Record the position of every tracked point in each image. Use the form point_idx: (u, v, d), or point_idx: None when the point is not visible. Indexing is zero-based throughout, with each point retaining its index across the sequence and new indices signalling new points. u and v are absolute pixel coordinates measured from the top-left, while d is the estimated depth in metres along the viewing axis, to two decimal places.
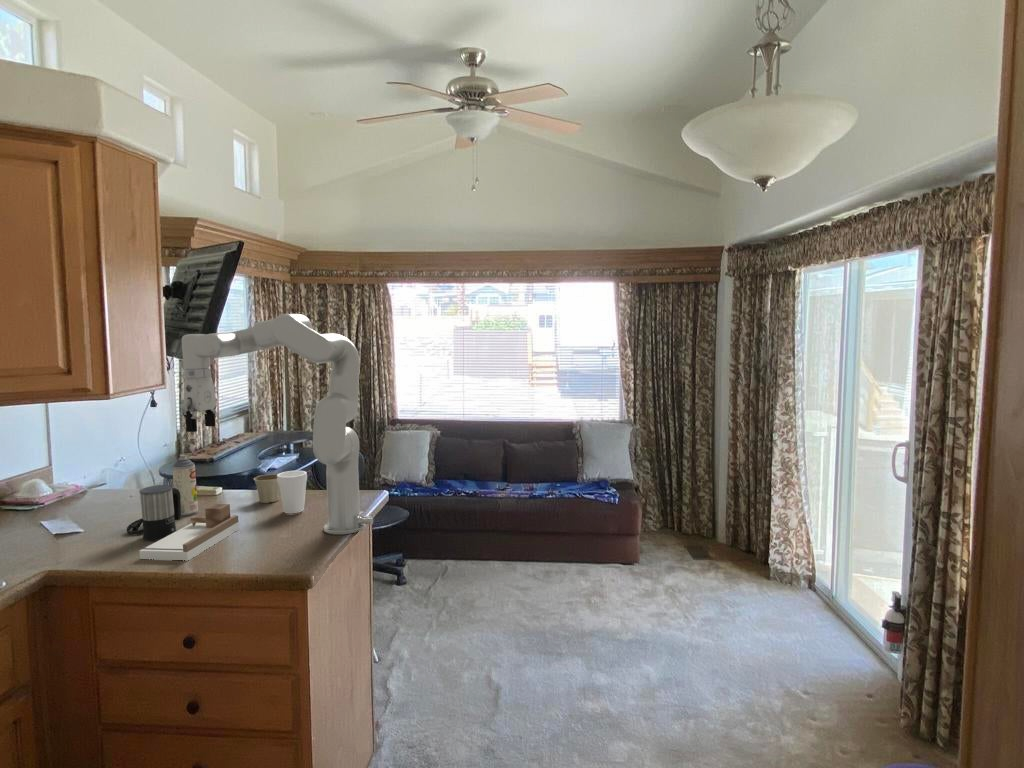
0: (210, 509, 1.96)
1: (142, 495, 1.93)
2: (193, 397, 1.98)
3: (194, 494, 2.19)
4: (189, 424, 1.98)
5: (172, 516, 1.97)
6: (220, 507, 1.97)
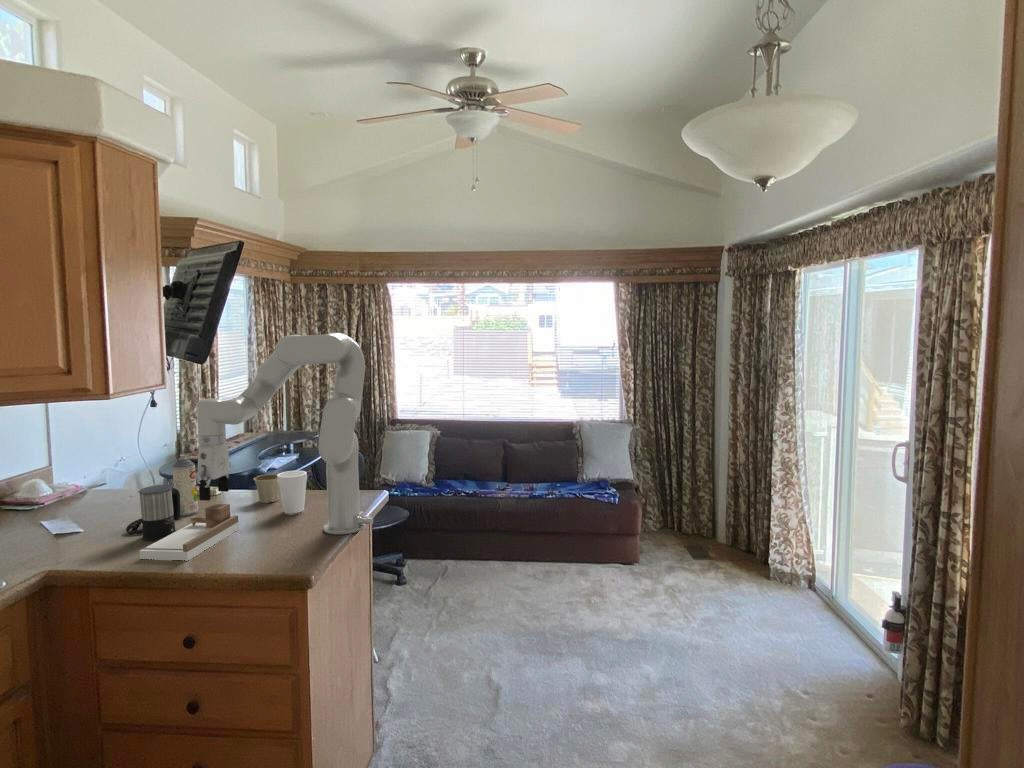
0: (210, 509, 1.96)
1: (141, 495, 1.93)
2: (207, 465, 1.92)
3: (194, 494, 2.19)
4: (203, 493, 1.92)
5: (171, 516, 1.97)
6: (220, 507, 1.97)
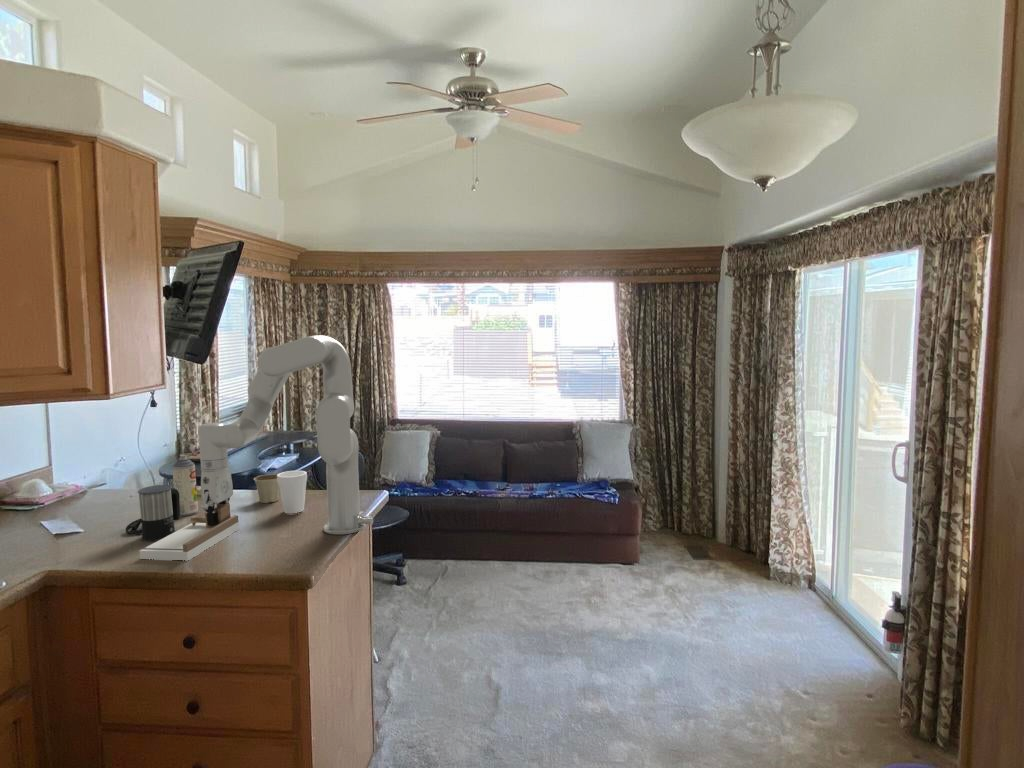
0: None
1: (141, 495, 1.93)
2: (210, 489, 1.93)
3: (194, 494, 2.19)
4: (210, 518, 1.95)
5: (171, 516, 1.97)
6: (220, 507, 1.97)
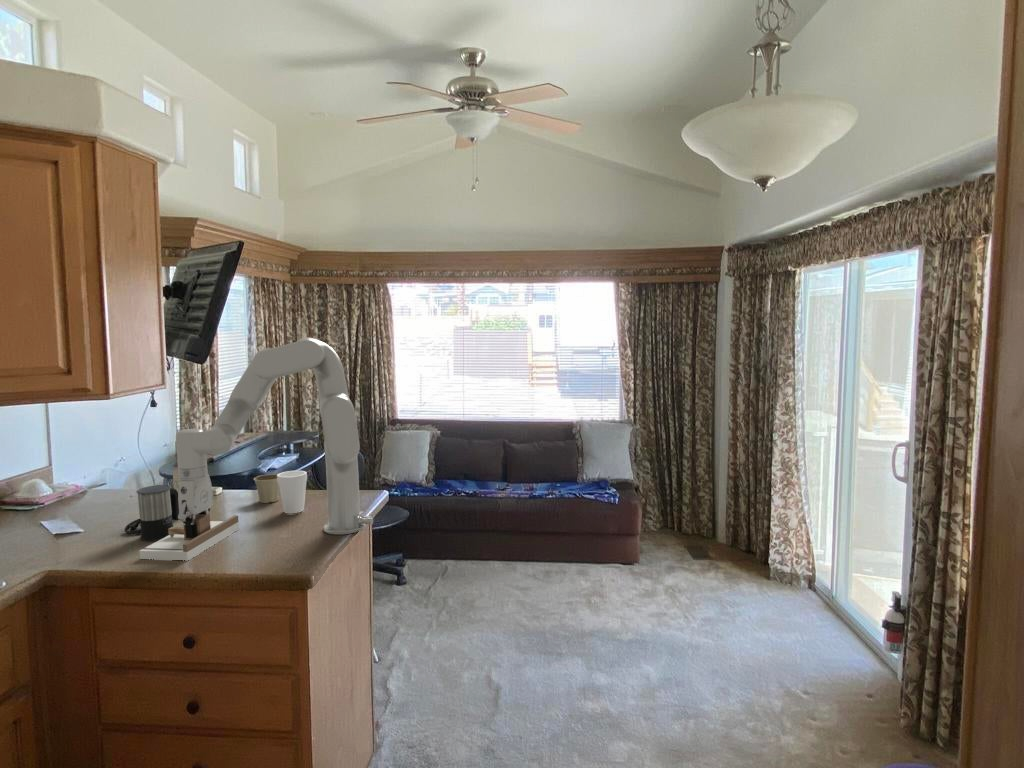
0: None
1: (139, 495, 1.93)
2: (188, 500, 1.82)
3: None
4: (189, 530, 1.84)
5: (169, 516, 1.97)
6: (199, 518, 1.86)
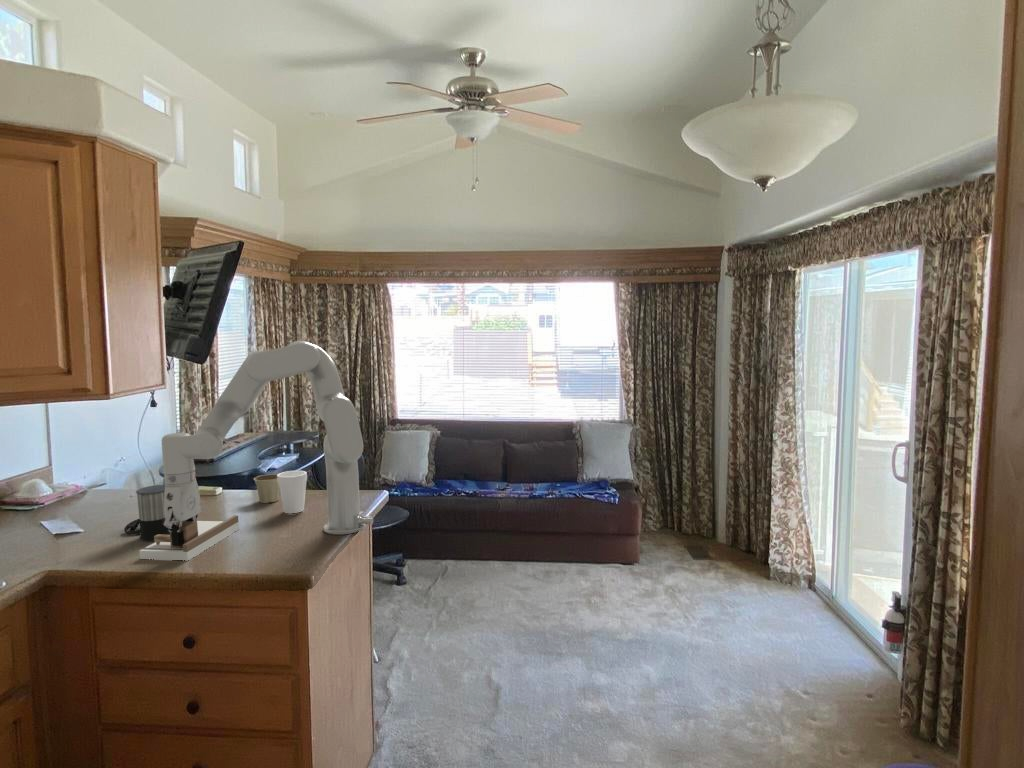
0: None
1: (139, 495, 1.93)
2: (174, 506, 1.76)
3: None
4: (175, 538, 1.78)
5: None
6: (186, 525, 1.80)
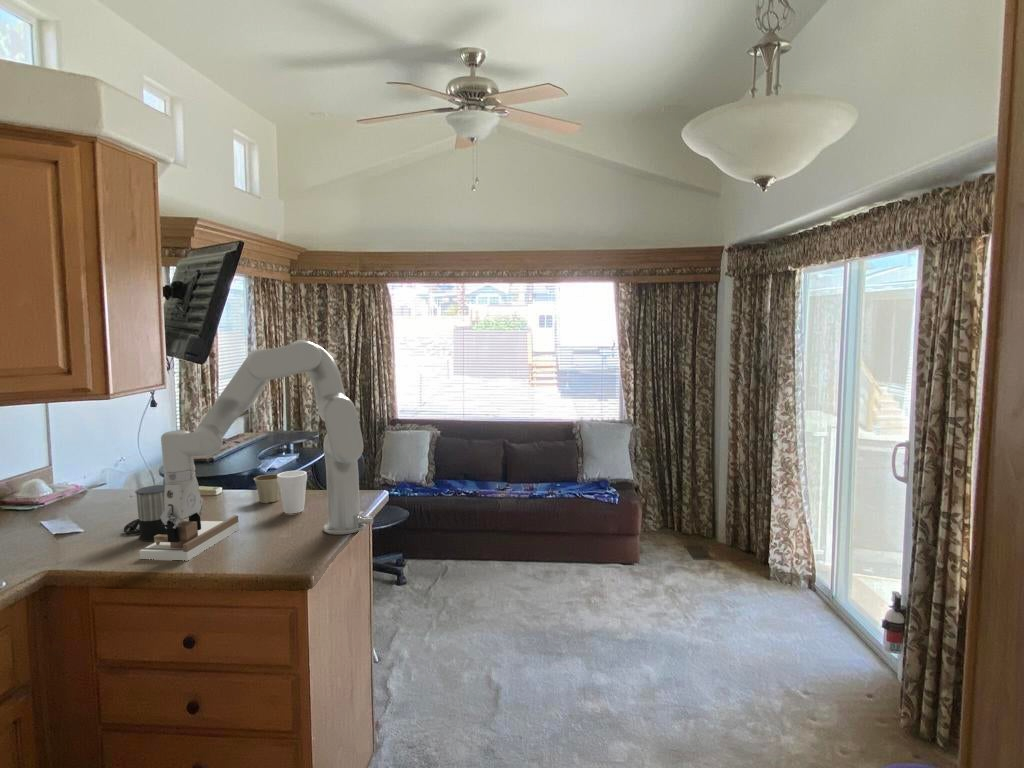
0: None
1: (138, 495, 1.93)
2: (175, 504, 1.76)
3: None
4: (171, 534, 1.76)
5: None
6: (186, 525, 1.80)
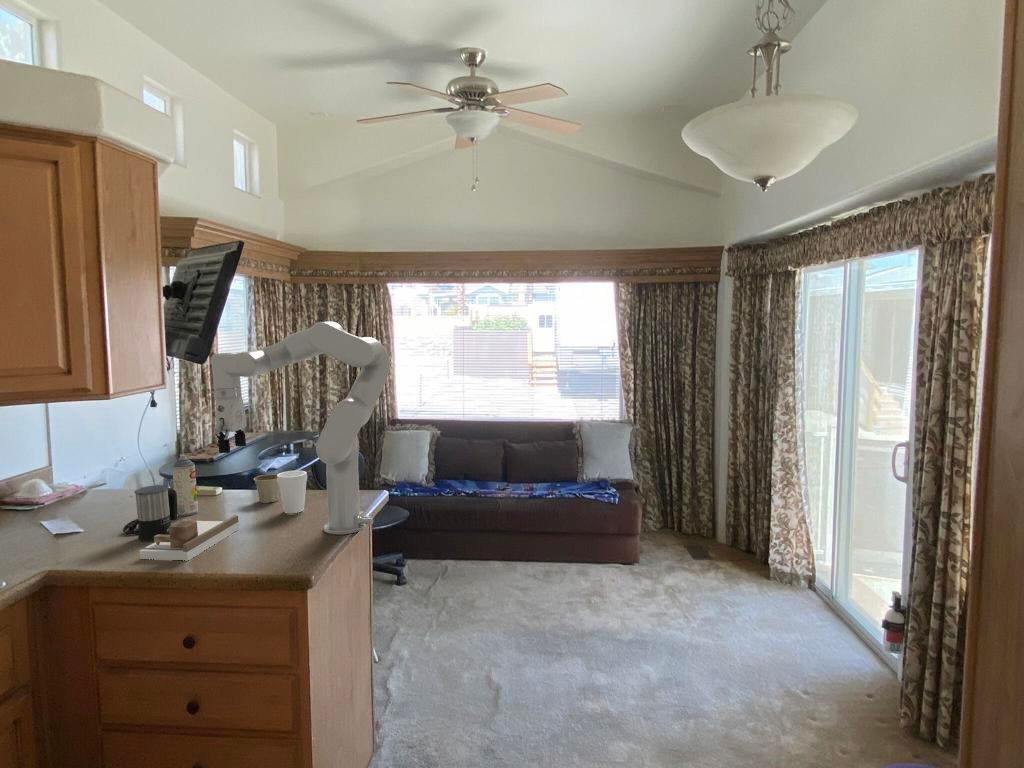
0: (175, 527, 1.79)
1: (137, 495, 1.93)
2: (225, 417, 1.93)
3: (194, 494, 2.19)
4: (222, 445, 1.94)
5: (167, 516, 1.97)
6: (186, 525, 1.80)
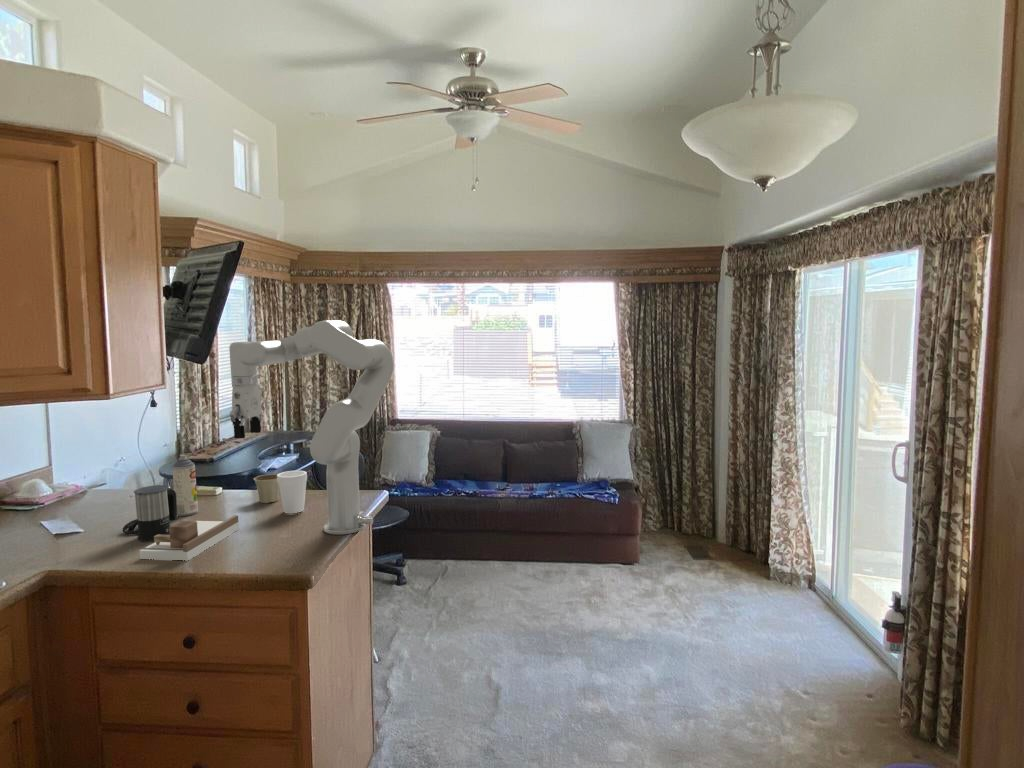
0: (175, 527, 1.79)
1: (136, 495, 1.93)
2: (241, 404, 2.00)
3: (194, 494, 2.19)
4: (237, 431, 2.00)
5: (167, 517, 1.97)
6: (186, 525, 1.80)
